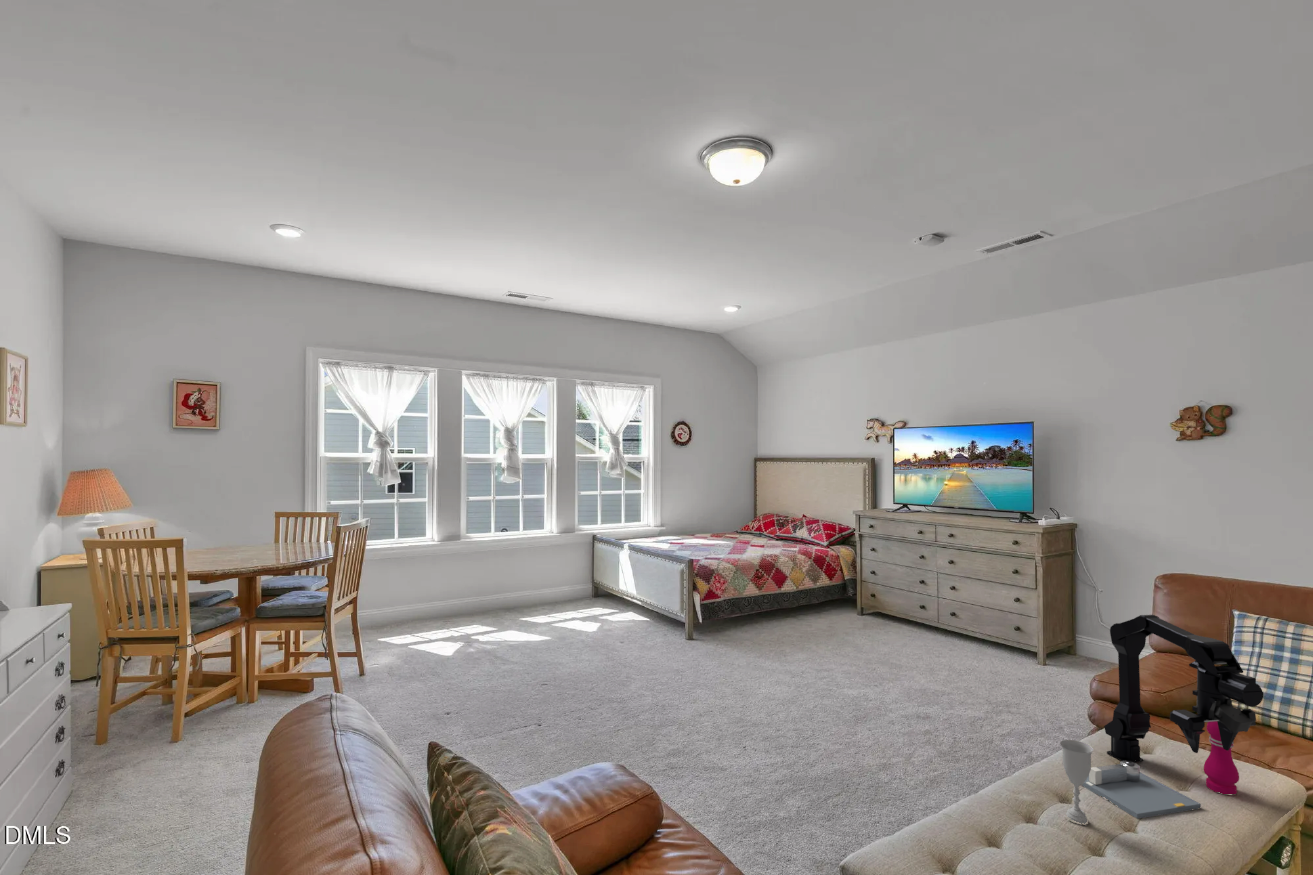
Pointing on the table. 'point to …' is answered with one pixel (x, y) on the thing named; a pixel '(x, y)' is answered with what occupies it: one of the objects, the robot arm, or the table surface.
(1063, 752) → the chalice
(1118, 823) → the table surface
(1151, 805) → the mount board
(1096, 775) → the lock lever
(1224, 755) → the pepper mill
